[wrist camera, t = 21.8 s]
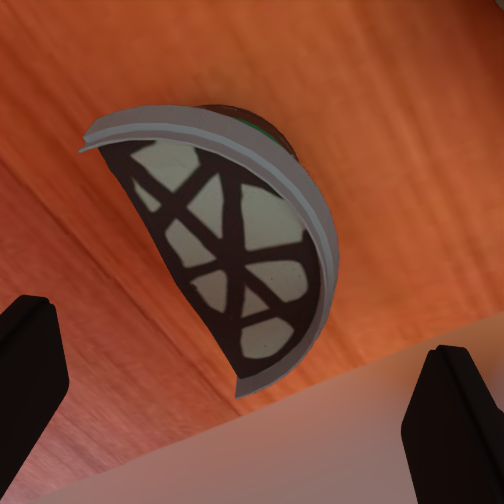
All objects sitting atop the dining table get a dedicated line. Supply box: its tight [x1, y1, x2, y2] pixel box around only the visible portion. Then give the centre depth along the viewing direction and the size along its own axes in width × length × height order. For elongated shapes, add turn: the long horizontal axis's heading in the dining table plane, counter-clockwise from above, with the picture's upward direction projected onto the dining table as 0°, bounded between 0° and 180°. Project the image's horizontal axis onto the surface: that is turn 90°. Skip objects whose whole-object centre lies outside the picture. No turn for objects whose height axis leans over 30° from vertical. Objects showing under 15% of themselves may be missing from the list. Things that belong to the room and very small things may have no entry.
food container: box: [78, 105, 339, 399], centre depth 18 cm, size 12×6×10 cm, turn 24°
